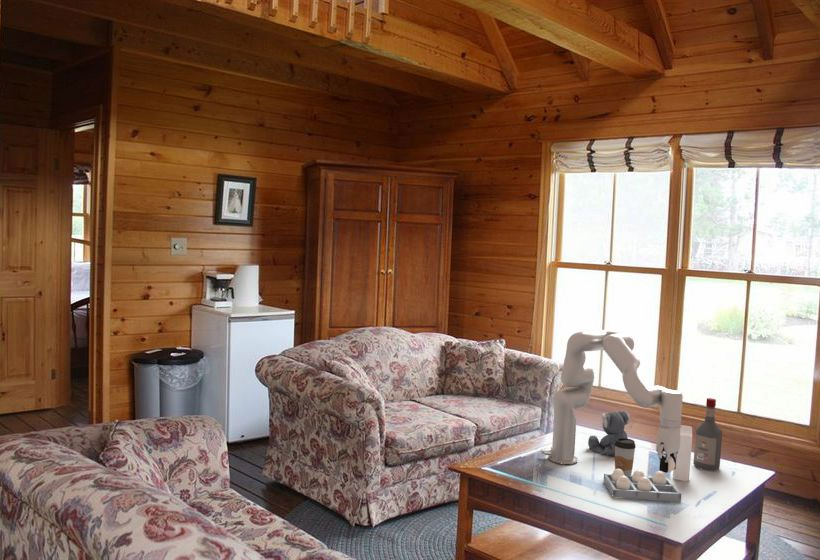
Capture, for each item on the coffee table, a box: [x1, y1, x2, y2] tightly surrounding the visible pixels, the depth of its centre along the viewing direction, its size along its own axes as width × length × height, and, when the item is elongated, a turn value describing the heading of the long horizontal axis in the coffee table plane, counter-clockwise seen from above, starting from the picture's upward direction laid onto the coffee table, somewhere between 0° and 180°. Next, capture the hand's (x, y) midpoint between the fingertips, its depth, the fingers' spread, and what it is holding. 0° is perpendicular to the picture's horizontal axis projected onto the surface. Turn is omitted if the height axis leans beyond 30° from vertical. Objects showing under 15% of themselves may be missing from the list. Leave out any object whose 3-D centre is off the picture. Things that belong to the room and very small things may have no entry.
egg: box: [664, 455, 675, 473], centre depth 264 cm, size 5×5×6 cm
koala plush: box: [587, 409, 631, 457], centre depth 315 cm, size 17×18×20 cm
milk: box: [672, 424, 693, 482], centre depth 285 cm, size 6×6×22 cm
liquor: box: [693, 397, 723, 472], centre depth 300 cm, size 9×9×30 cm
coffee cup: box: [614, 438, 636, 476], centre depth 285 cm, size 8×8×15 cm
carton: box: [603, 468, 683, 502], centre depth 269 cm, size 25×17×7 cm
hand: (667, 469), depth 264 cm, fingers closed on egg, 5 cm apart
